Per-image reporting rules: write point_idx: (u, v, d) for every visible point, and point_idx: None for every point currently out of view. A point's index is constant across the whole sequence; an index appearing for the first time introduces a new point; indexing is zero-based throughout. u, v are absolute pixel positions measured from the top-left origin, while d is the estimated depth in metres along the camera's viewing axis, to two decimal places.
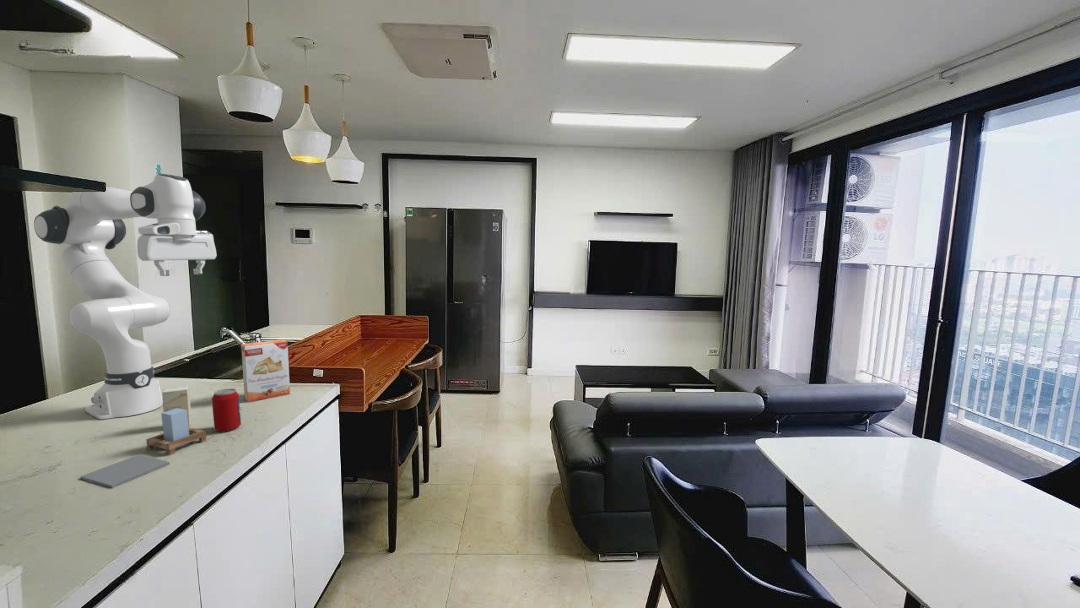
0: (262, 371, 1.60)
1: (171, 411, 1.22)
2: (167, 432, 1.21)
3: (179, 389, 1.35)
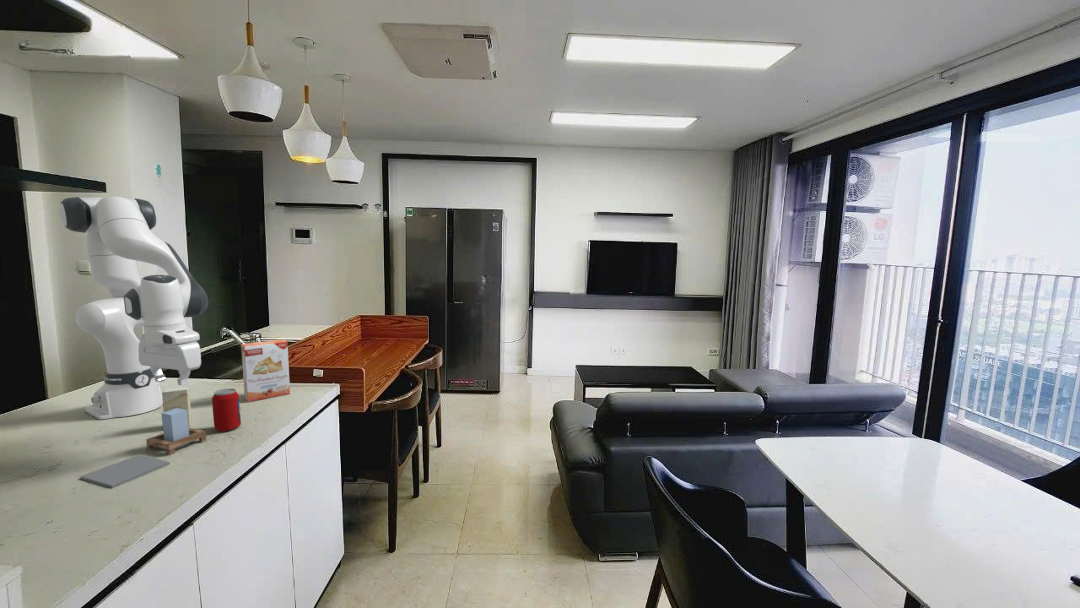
0: (262, 371, 1.60)
1: (171, 411, 1.22)
2: (167, 432, 1.21)
3: (179, 389, 1.35)
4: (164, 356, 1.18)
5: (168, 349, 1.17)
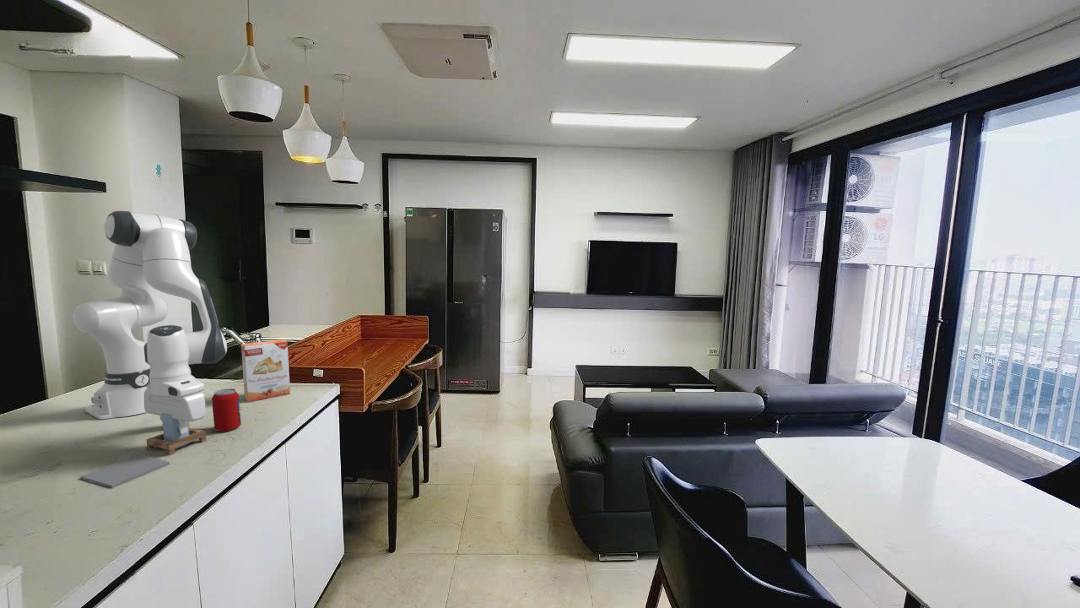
0: (262, 371, 1.60)
1: None
2: (167, 432, 1.21)
3: None
4: (169, 406, 1.20)
5: (173, 400, 1.19)
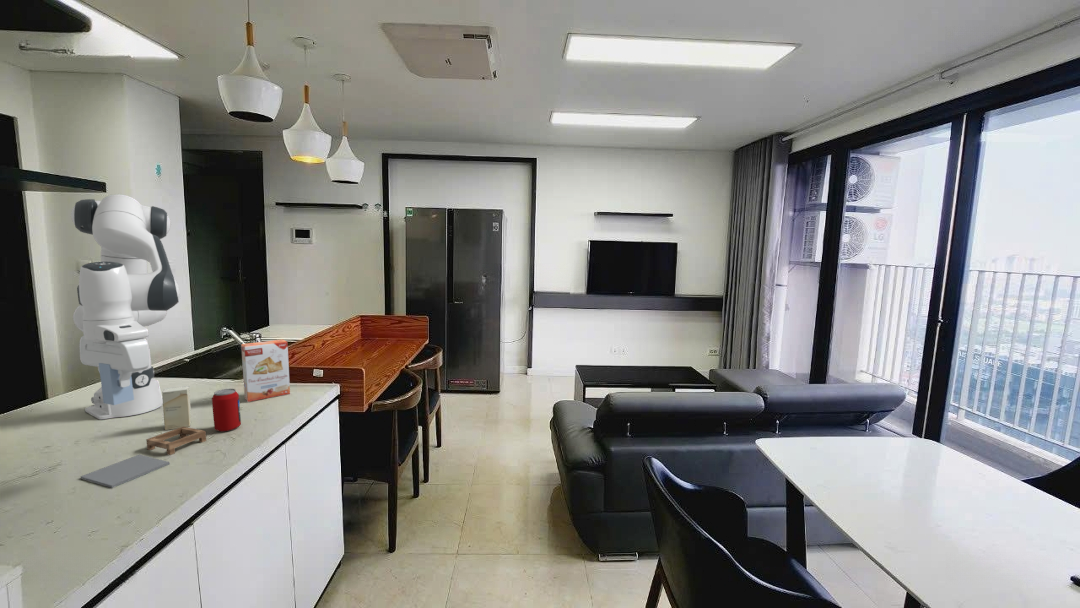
0: (262, 371, 1.60)
1: None
2: (106, 386, 1.04)
3: (179, 389, 1.35)
4: (106, 355, 1.03)
5: (111, 347, 1.02)
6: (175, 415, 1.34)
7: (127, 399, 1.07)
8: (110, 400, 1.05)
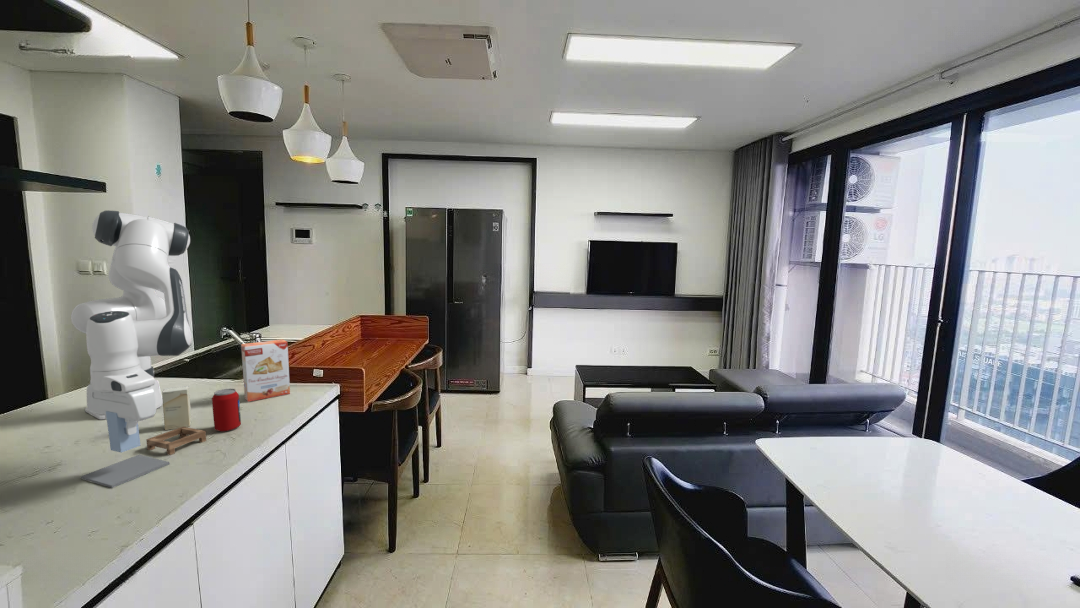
0: (262, 371, 1.60)
1: None
2: (113, 433, 1.06)
3: (179, 389, 1.35)
4: (114, 404, 1.05)
5: (118, 396, 1.04)
6: (175, 415, 1.34)
7: (134, 445, 1.08)
8: (117, 447, 1.06)
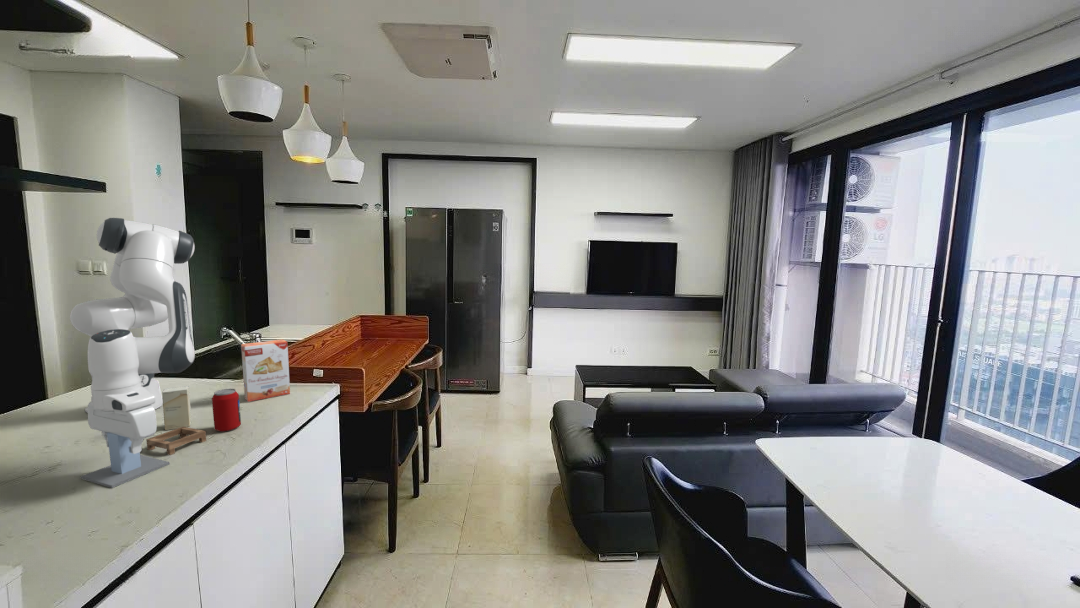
0: (262, 371, 1.60)
1: None
2: (114, 455, 1.07)
3: (179, 389, 1.35)
4: (114, 422, 1.05)
5: (119, 414, 1.04)
6: (175, 415, 1.34)
7: (134, 466, 1.09)
8: (118, 469, 1.07)
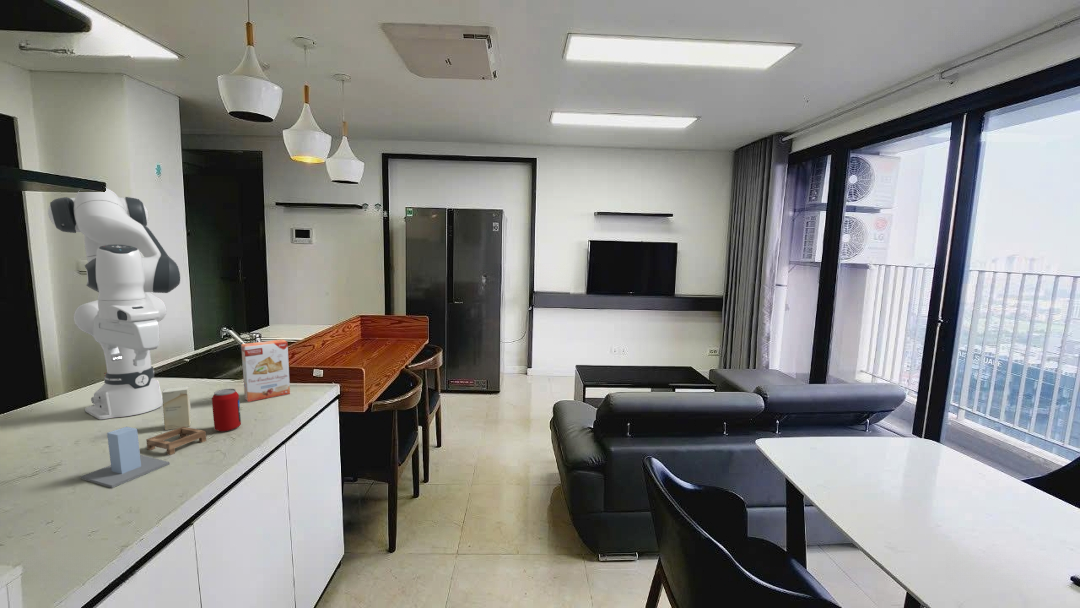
0: (262, 371, 1.60)
1: (118, 430, 1.08)
2: (114, 455, 1.07)
3: (179, 389, 1.35)
4: (119, 334, 1.08)
5: (124, 326, 1.07)
6: (175, 415, 1.34)
7: (134, 466, 1.09)
8: (118, 469, 1.07)
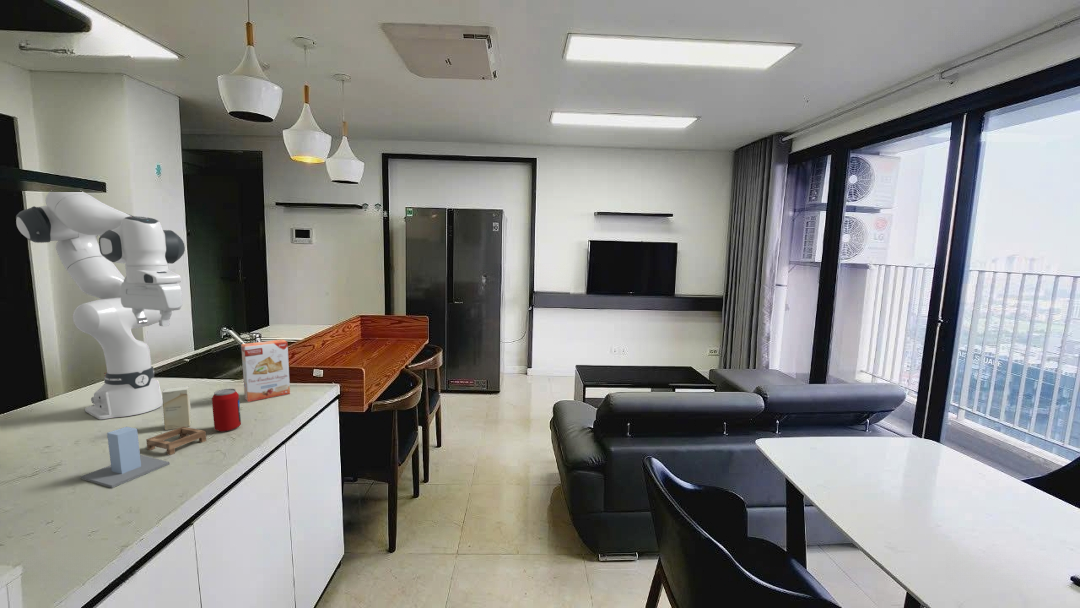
0: (262, 371, 1.60)
1: (118, 430, 1.08)
2: (114, 455, 1.07)
3: (179, 389, 1.35)
4: (145, 297, 1.19)
5: (149, 289, 1.18)
6: (175, 415, 1.34)
7: (134, 466, 1.09)
8: (118, 469, 1.07)
